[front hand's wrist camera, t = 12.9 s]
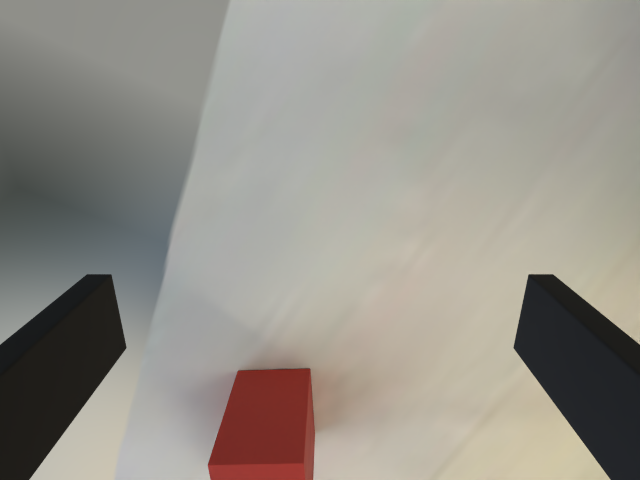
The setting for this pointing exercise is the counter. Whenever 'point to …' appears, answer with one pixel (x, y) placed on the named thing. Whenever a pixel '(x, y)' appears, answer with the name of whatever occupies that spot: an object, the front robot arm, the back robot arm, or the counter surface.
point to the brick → (266, 428)
